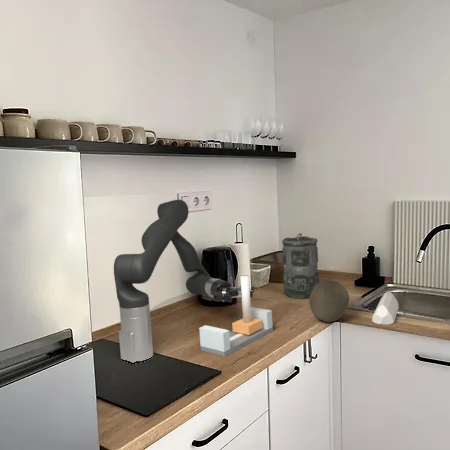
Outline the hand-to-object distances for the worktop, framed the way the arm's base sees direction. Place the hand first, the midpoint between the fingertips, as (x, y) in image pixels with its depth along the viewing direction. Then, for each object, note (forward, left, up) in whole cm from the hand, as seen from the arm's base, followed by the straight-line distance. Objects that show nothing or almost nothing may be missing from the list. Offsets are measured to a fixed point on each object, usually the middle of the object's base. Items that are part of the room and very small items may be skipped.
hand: (241, 297), depth 162 cm
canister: (+55, +8, -13) cm, 57 cm away
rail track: (-6, -3, -13) cm, 15 cm away
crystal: (+43, -35, -14) cm, 57 cm away
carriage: (-1, -3, -11) cm, 11 cm away
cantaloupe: (+27, -20, -13) cm, 36 cm away
